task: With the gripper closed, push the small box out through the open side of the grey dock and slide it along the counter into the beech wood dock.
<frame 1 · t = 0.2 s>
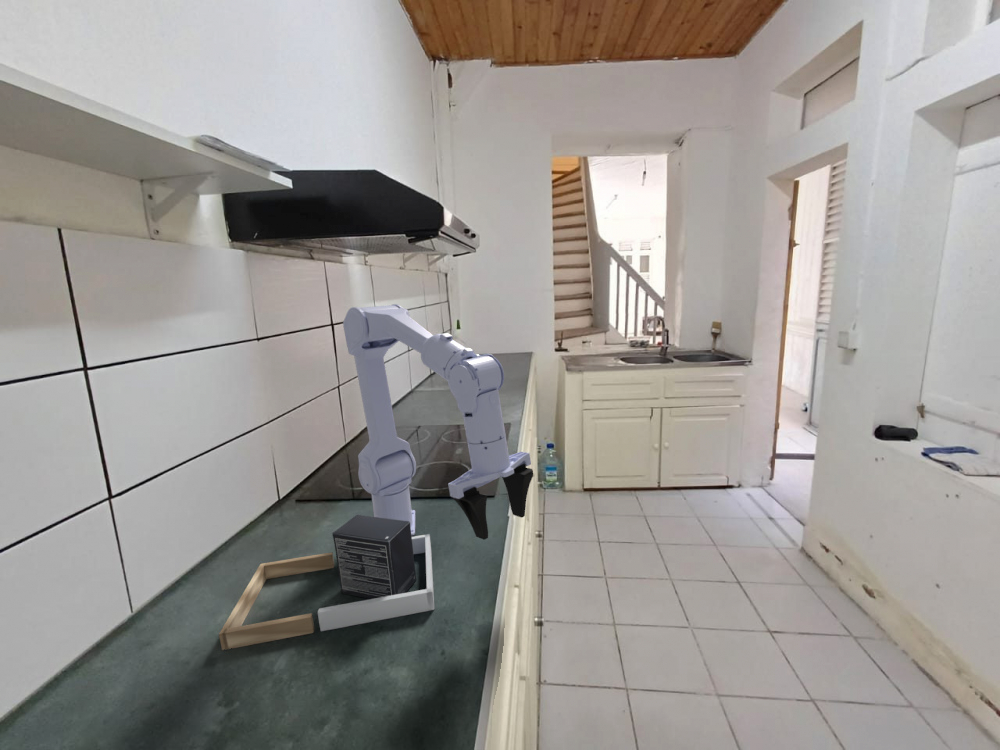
hand: (501, 525, 64), 11 cm above the worktop, tool pointing down, fingers open, 7 cm apart
grey dock: (383, 584, 68), on the worktop
small box: (380, 586, 68), on the worktop
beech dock: (287, 601, 66), on the worktop
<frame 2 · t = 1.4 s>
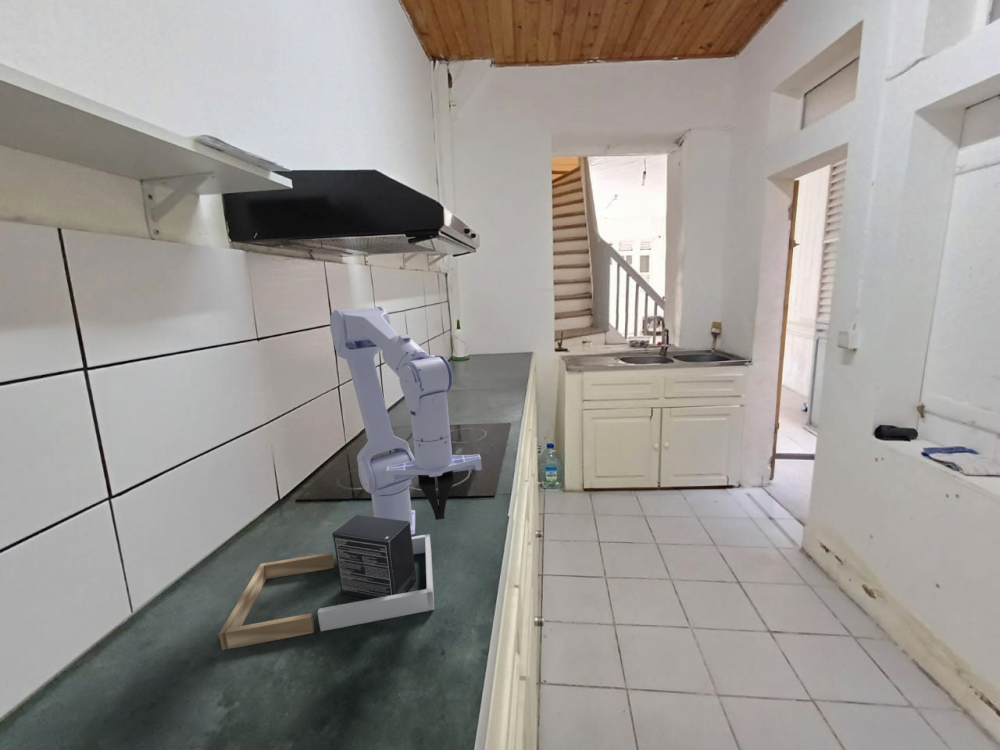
hand: (439, 516, 68), 10 cm above the worktop, tool pointing down, fingers closed
nothing on the worktop moved.
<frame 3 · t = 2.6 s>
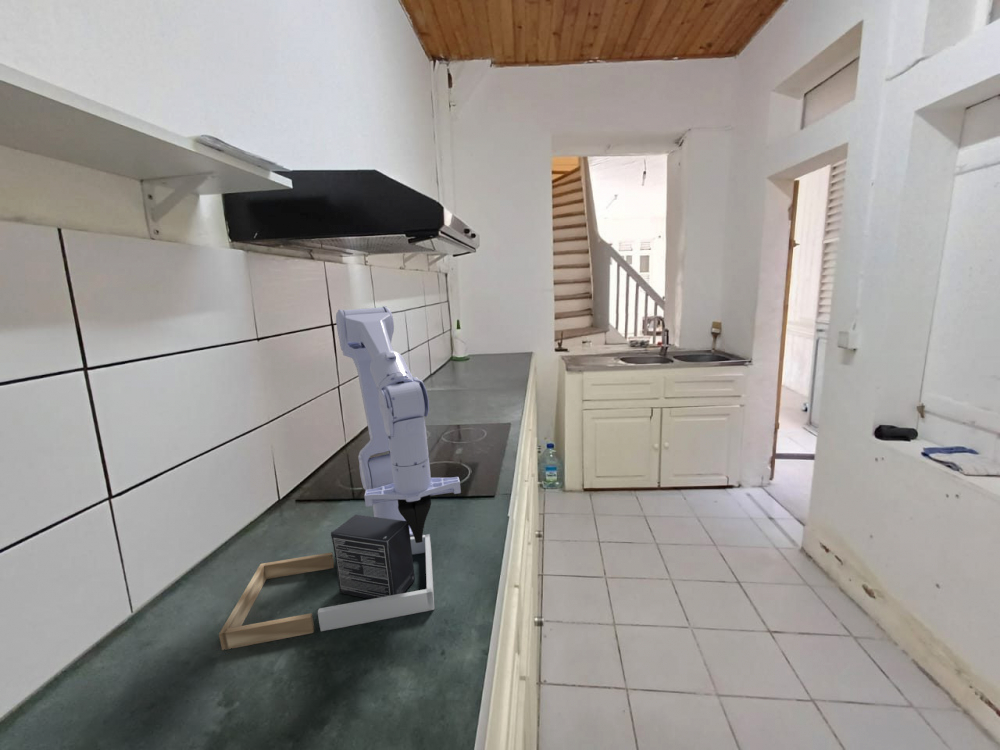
hand: (419, 539, 68), 7 cm above the worktop, tool pointing down, fingers closed
small box: (378, 586, 68), on the worktop, touching gripper
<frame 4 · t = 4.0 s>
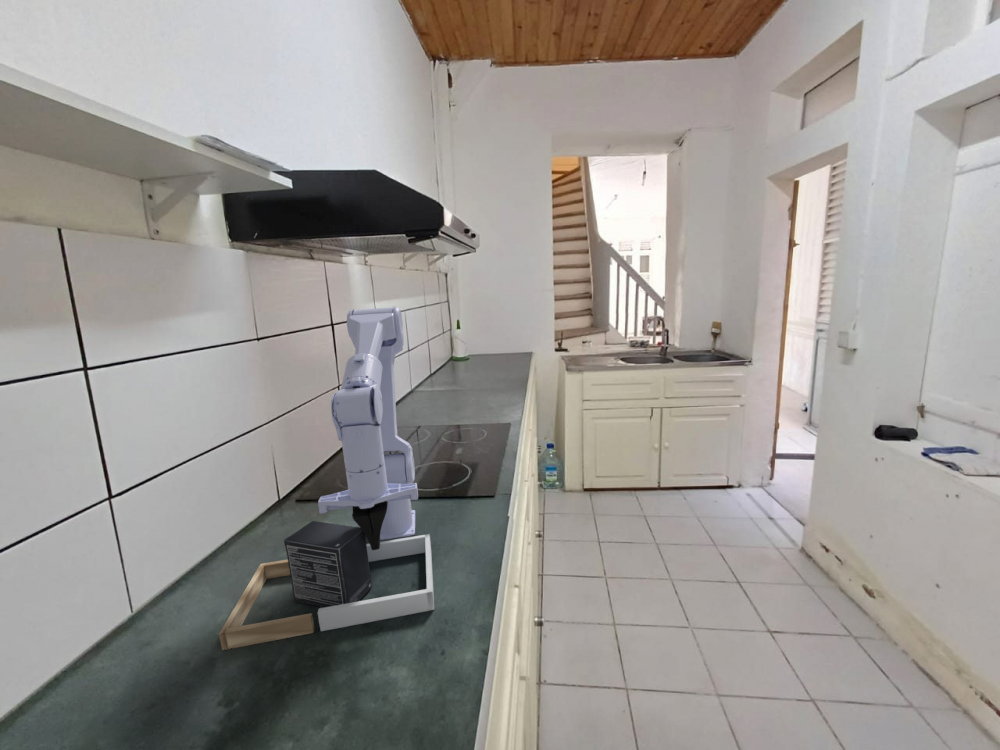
hand: (376, 546, 67), 7 cm above the worktop, tool pointing down, fingers closed
small box: (334, 594, 67), on the worktop, touching gripper
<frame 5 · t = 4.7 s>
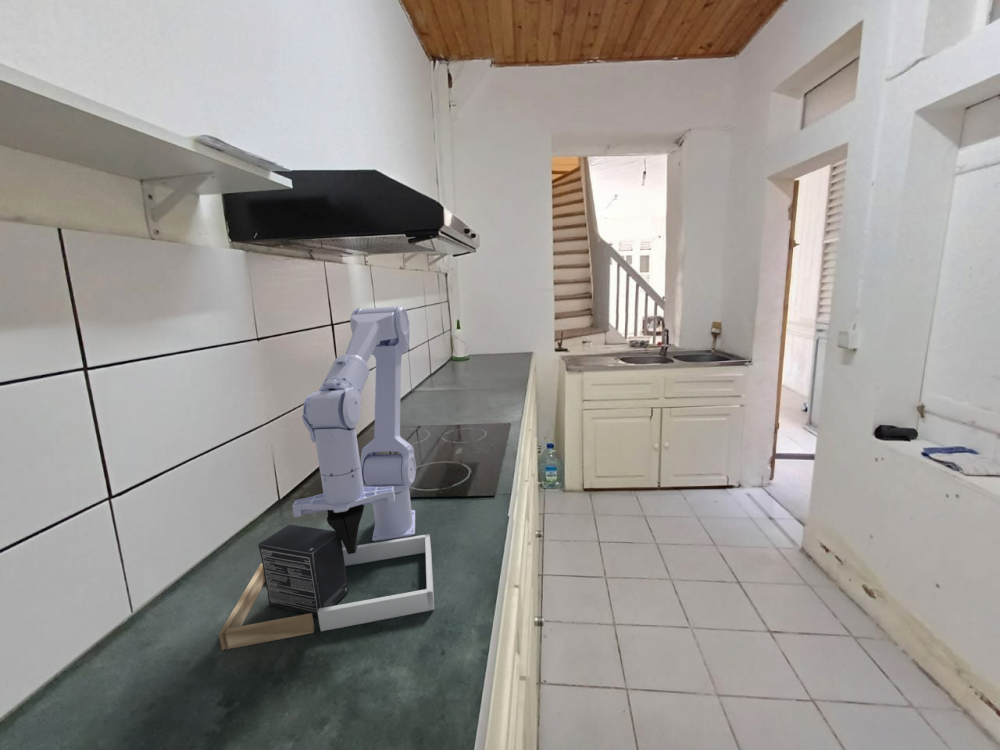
hand: (352, 550, 66), 7 cm above the worktop, tool pointing down, fingers closed
small box: (310, 598, 66), on the worktop, touching gripper
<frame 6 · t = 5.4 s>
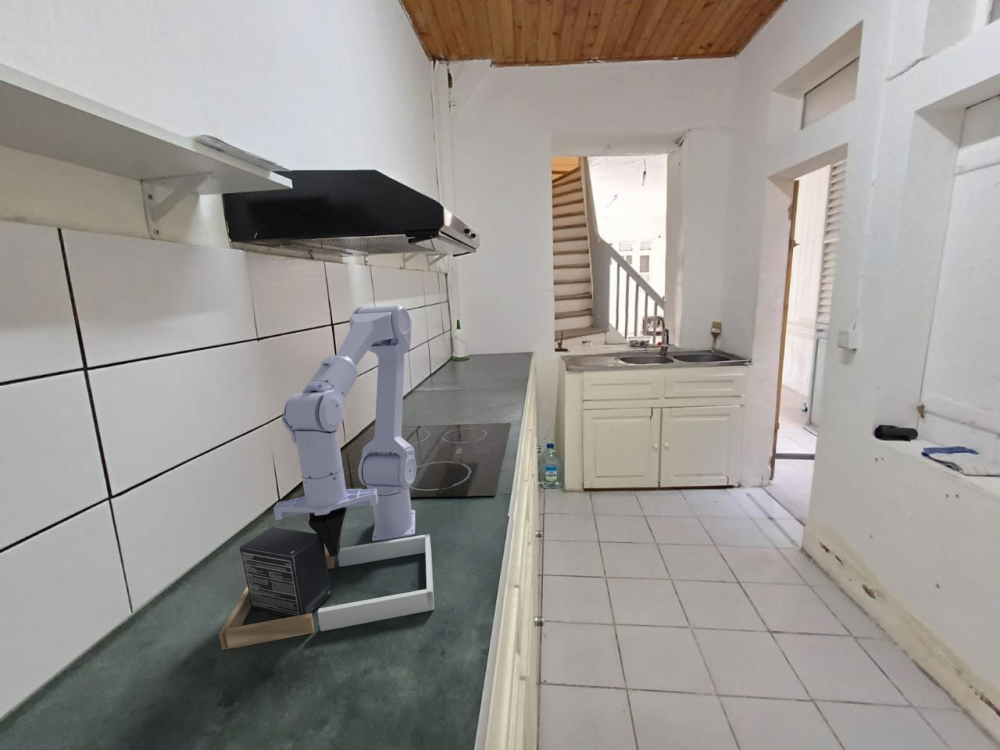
hand: (335, 552, 66), 7 cm above the worktop, tool pointing down, fingers closed
small box: (293, 602, 66), on the worktop, touching gripper
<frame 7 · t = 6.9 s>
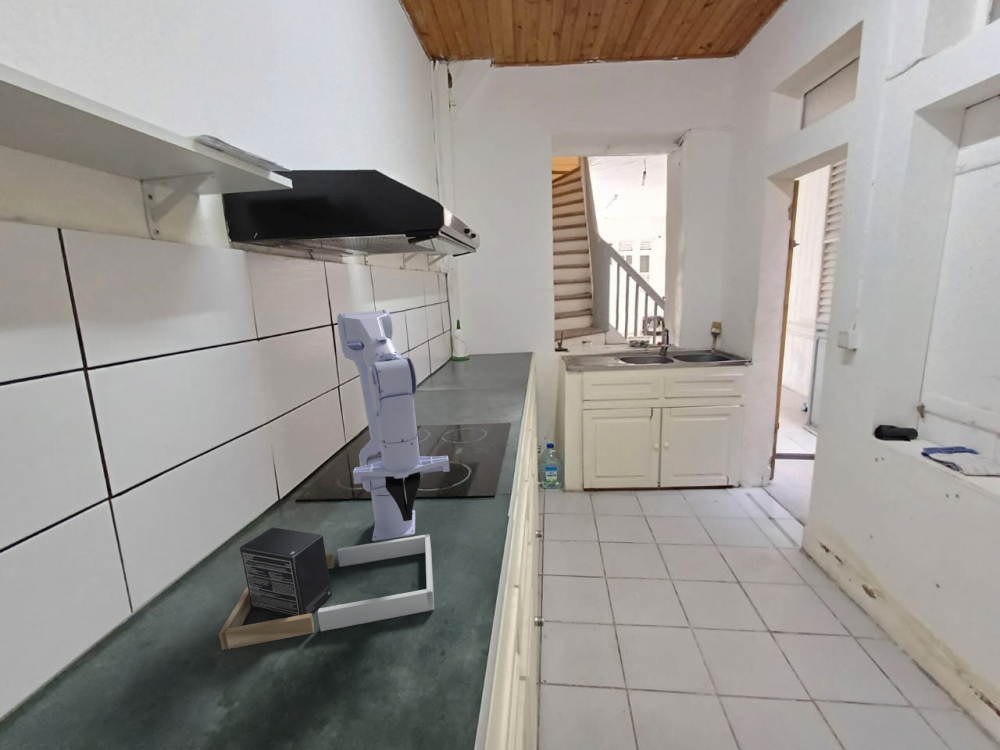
hand: (408, 517, 68), 10 cm above the worktop, tool pointing down, fingers closed
small box: (293, 602, 66), on the worktop
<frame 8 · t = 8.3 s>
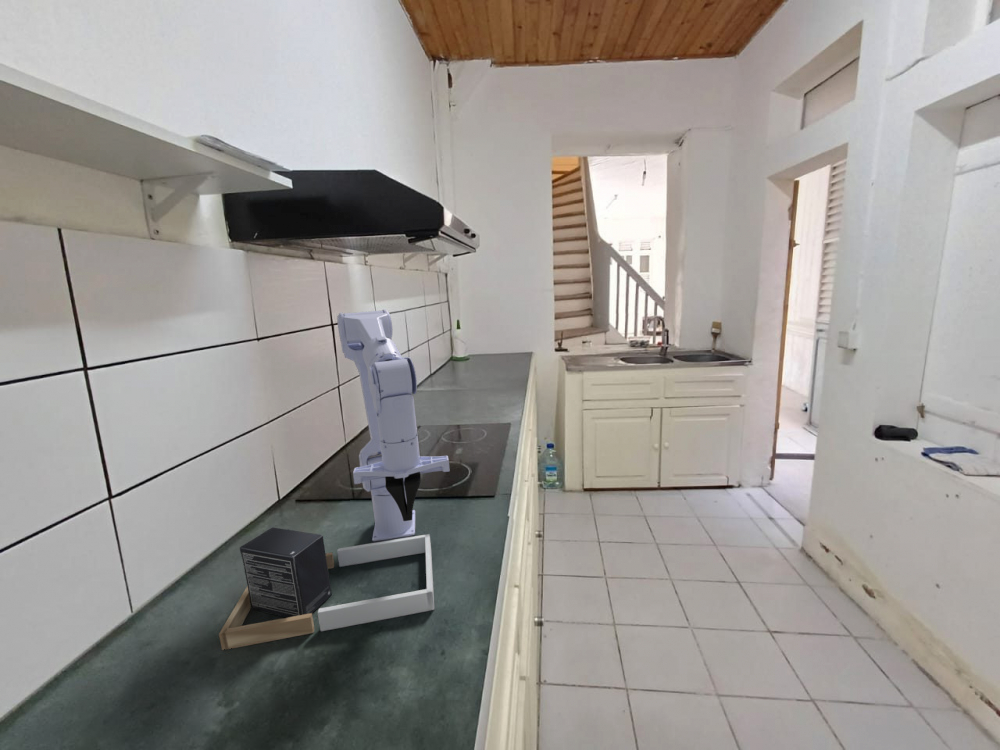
hand: (408, 517, 68), 10 cm above the worktop, tool pointing down, fingers closed
nothing on the worktop moved.
at the end: small box inside the target area (1.4 cm from its centre), on the worktop; small box tilted 0°; small box moved 13.1 cm from its start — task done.
